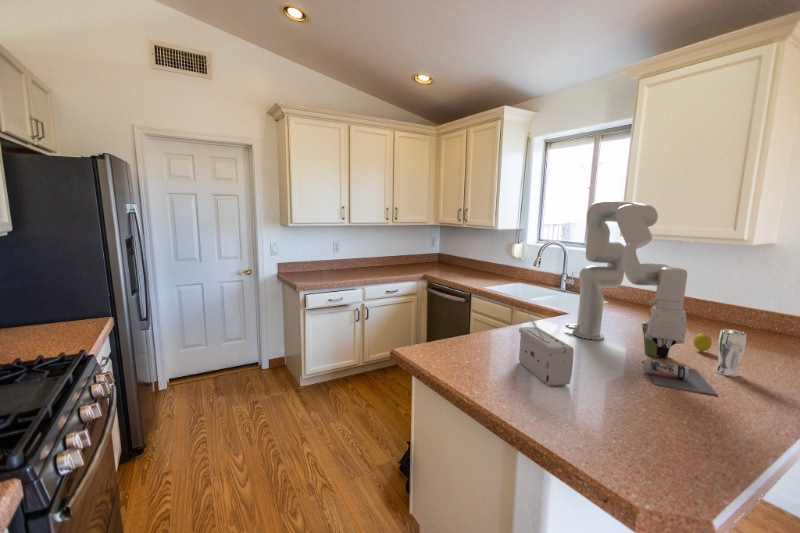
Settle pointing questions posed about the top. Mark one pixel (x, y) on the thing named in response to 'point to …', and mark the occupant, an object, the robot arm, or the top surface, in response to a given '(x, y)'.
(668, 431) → the top surface
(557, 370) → the stereo radio cassette player
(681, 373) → the beer can
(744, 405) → the top surface
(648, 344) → the plant pot
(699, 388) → the rubber mat
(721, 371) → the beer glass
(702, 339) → the lemon
